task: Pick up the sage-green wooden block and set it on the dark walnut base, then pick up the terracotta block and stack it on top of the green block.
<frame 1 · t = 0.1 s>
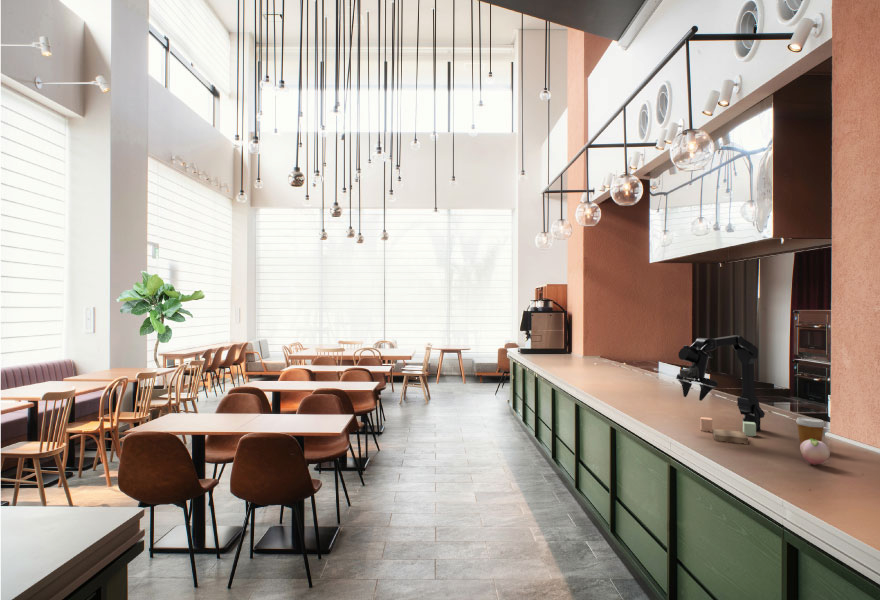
hand: (692, 398, 228), 15 cm above the worktop, tool pointing down, fingers open, 9 cm apart
disposable coffee cup: (810, 449, 203), on the worktop
terracotta block: (706, 430, 233), on the worktop
walnut base: (729, 439, 217), on the worktop
green block: (749, 435, 225), on the worktop
decorative fruit: (815, 465, 182), on the worktop
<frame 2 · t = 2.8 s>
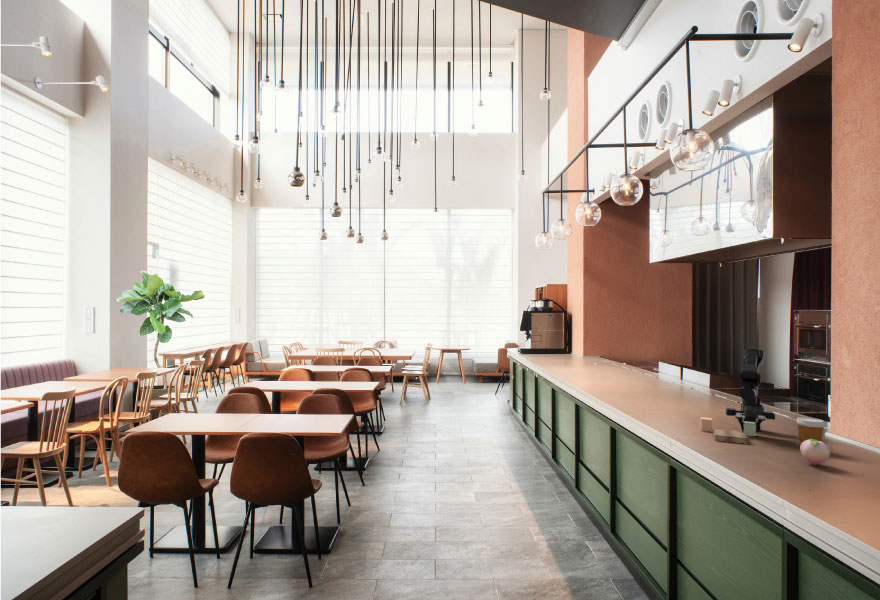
hand: (749, 432, 225), 1 cm above the worktop, tool pointing down, fingers closed on green block, 4 cm apart
green block: (749, 435, 225), on the worktop, touching gripper
everything else where it was.
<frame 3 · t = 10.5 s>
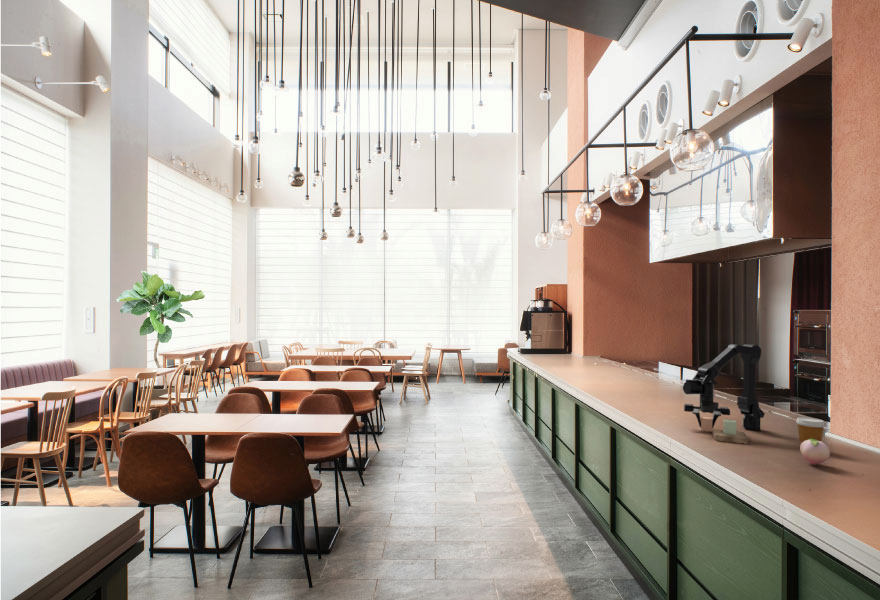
hand: (706, 427, 233), 1 cm above the worktop, tool pointing down, fingers closed on terracotta block, 4 cm apart
terracotta block: (706, 430, 233), on the worktop, touching gripper
green block: (729, 433, 217), point 2 cm above the worktop, touching walnut base
everything else where it was.
when the fingers open (10 cm above the worktop, at t = 13.4 s): terracotta block drops 1 cm, resting on green block.
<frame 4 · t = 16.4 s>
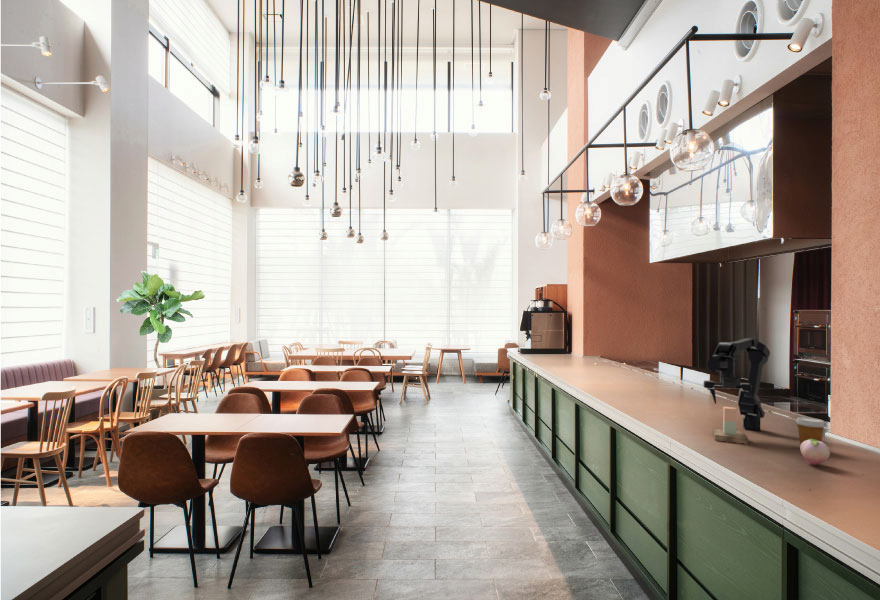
hand: (726, 404, 227), 13 cm above the worktop, tool pointing down, fingers open, 9 cm apart
terracotta block: (729, 420, 217), point 8 cm above the worktop, touching green block
green block: (729, 433, 217), point 2 cm above the worktop, touching terracotta block, walnut base
everything else where it was.
at the end: green block 0.0 cm off-centre on the walnut base, point 2.5 cm above the walnut base's base; terracotta block 0.0 cm off-centre on the green block, point 5.5 cm above the green block's base; terracotta block tilted 0° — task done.
